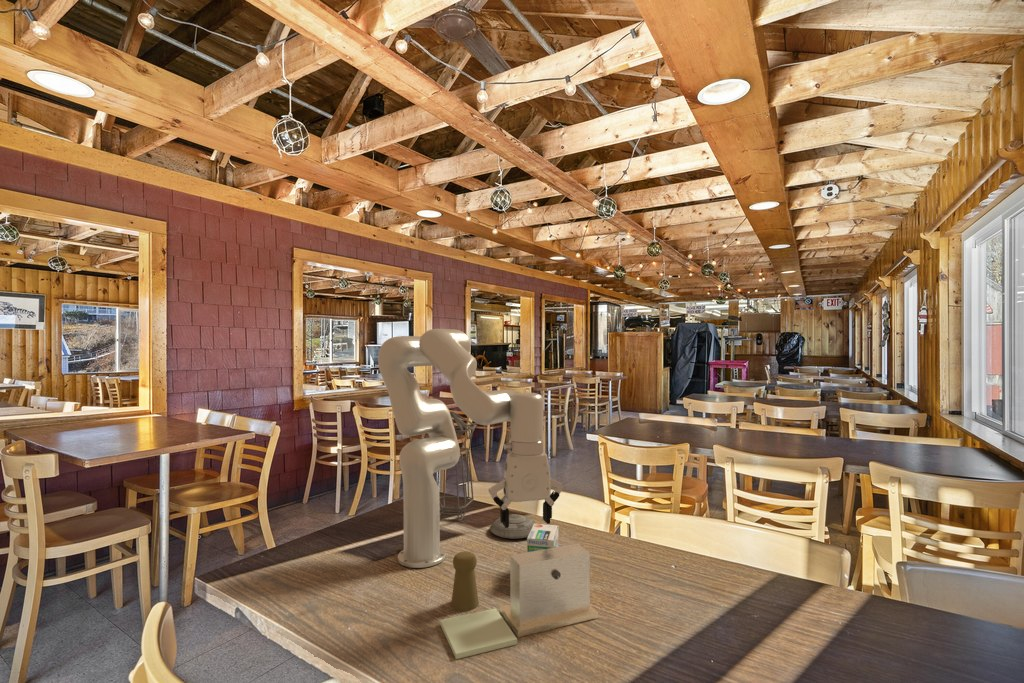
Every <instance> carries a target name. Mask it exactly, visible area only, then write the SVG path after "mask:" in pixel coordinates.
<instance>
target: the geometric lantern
mask: <svg viewBox="0 0 1024 683" xmlns="http://www.w3.org/2000/svg"><path fill="white" fill-rule="evenodd" d="M449 412H450V415H451V418H452V422H453V425H454V429H455V432H456V436H458V437H459V438H460V441H461V442H462V445H461V447H459V448H460V461H461V463H460V464H461V474H462V476H461V477H462V488H463V489H462V490H463V496H459V468H458V467H459V466H458V463H459V461H458V462H457V464H456V465H455V471H456V472H455V473H456V474H455V475H456V495H454V496H452V495H451V496H450V495H446V494H445V493H446V489H445V488H446V470H443V479H442V480H443V486H442V488H443V489H442V490H443V491H442V492H443V493H442V496H440V499H442V500H443V504H442V503H441V502H440V516H441V515H457V518H456V519H453V518H451V519H450V518H448V519H447V518H440V521H454V522H455V521H456V522H460V521H462V520H463V519H464V517H465V514H466V508H467V507H468V506H469V505H470V504H471V503H473V501H474V489H473V488H474V487H473V477H472V475H473V474H472V465H471V453H470V451H471V445H472V438H473V434H474V432H475V429H476V427H478V424H476V423H475V422H474V423H473V421H470V420H468V419H467V418H465V417H463V416H461V415H460V414H458V413H456V412H454V411H453V410H452V411H450V410H449ZM464 421H465V422H464ZM466 422H467V423H469V424H467V423H466ZM455 423H456V425H457V426H456V425H455ZM464 433H465V439H464V440H463V438H462V437H461V436H463V435H464ZM425 435H427V436H428V437H429V434H428V433H426V434H425ZM467 440H469V445H468V447H467V446H466V445H465V444H466V441H467ZM462 450H466V451H464V452H463V453H462ZM464 454H466V479H467V481H466V483H465V470H464V458H463V457H464V456H463V455H464ZM469 479H470V480H469ZM436 483H437V485H438V487H439V486H440V485H439V484H440V471H439V472H437V481H436ZM466 484H467V496H466V486H465V485H466ZM470 490H471V491H470ZM470 492H471V496H470ZM445 499H456V500H457V501H456V505H446V503H445ZM460 499H463V502H464V503H463V505H460ZM468 500H469V501H468Z"/></svg>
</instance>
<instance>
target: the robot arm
mask: <svg viewBox="0 0 1024 683" xmlns="http://www.w3.org/2000/svg"><path fill="white" fill-rule="evenodd" d="M471 346H472V345H471V341H470V338H469V336H468V335H467V334H466V333H465V332H464V331H462V330H459V329H456V328H452V329H451V328H432V329H429V330H426V331H425V332H424V333H423V334H422V335H421V336H419V335H417V336H416V335H415V336H414V335H398V336H393V337H390V338H388V339H386V340H385V341H383V343H382V344H381V346H380V348H379V352H378V355H377V356H378V357H377V359H378V360H377V363H378V364H377V365H378V370H379V373H380V375H381V377H382V380H383V382H384V384H385V388H386V389H387V393H388V396H389V401H390V406H391V408H392V412H393V413H392V414H393V417H394V421H395V424H396V428H397V430H398V432H399V433H400V434H401V435H403V436H405V437H413V436H415V437H416V436H420V435H427V434H426V433H428V434H429V436H428V437H425V438H421V439H415V440H412V441H410V442H408V443H407V444H405V445H404V446H403V447H402V449H401V450H400V452H399V455H398V456H399V468H400V472H401V476H402V491H403V497H402V500H403V549H402V550H400V551H399V553H398V555H397V562H398V563H399V564H400V565H402V566H403V567H407V568H413V569H423V568H429V567H433V566H436V565H438V564H440V563H441V562H443V561H444V560H445V558H446V556H447V554H446V550H445V549H444V548H443V547H441V543H440V542H441V540H440V539H441V538H440V537H441V533H440V532H441V531H440V530H441V529H440V526H441V520H440V519H441V515H440V512H441V509H440V507H441V505H440V503H441V501H440V499H441V498H440V497H441V496H440V488H439V487H438V485H437V481H436V479H435V477H434V474H436V473H438V472H439V473H440V472H441V471H444V470H445V471H446V470H449V469H451V468H453V467H456V464H457V462H458V463H459V460H460V458H461V455H460V450H461V449H460V448H461V447H460V445H459V440H458V437H457V436H458V435H456V433H457V432H455V431H456V429H454V426H455V424H454V425H453V422H454V421H453V422H452V418H453V417H452V418H451V415H450V412H449V411H450V409H449V408H448V406H447V405H446V403H444V402H443V401H442V400H440V399H438V398H426V399H425V398H424V397H423V395H422V393H421V388H420V384H419V382H418V381H417V379H416V378H415V376H414V375H413V374H412V373H411V371H409V369H408V368H409V367H411V368H412V367H413V368H414V367H431V366H434V367H435V368H436V369H437V370H438V371H439V372H440V373H441V374H442V375H443V377H445V378H446V379H447V380H448V381H449V389H450V392H451V394H450V395H451V398H452V400H453V402H454V403H455V405H456V406H457V408H458V409H460V410H461V412H462V413H463V414H465V416H466V417H467V418H469V419H470V420H471V422H474V424H476V425H480V426H490V425H495V424H500V423H506V422H509V425H510V426H509V441H508V443H504V444H503V449H504V450H505V451H509V452H508V453H507V455H506V457H505V464H504V472H503V480H501V481H499V482H497V483H496V484H493V485H492V486H491V487H490V488H488V493H489V495H490V497H491V498H492V500H493V502H494V504H496V505H497V506H498V507H499V510H500V513H499V514H500V517H499V518H500V521H501V523H503V525H504V526H505V528H508V527H509V515H510V510H509V508H508V507H509V506H510V504H511V503H512V502H513V503H522V502H532V501H543V503H542V520H543V521H544V522H545V523H546V525H551V519H552V517H553V506H554V505H555V502H556V501H557V499H559V498H560V494H561V493H562V490H563V489H564V485H563V483H561V482H559V481H557V480H555V479H553V478H551V473H550V464H549V456H548V454H547V453H546V452H545V451H544V398H543V396H542V395H541V394H539V393H536V392H520V391H517V390H514V389H499V390H498V389H496V390H489V391H484V390H482V388H480V386H478V385H477V384H476V383H475V382H474V381H473V380H472V378H473V376H474V375H475V373H476V371H477V368H478V367H477V366H478V362H477V359H476V358H475V357H474V356H473V355H472V354H471V353H470V352H471ZM551 487H554V489H553V491H551V490H552V488H551ZM501 490H503V494H504V495H503V496H502V498H500V497H499V495H498V492H500V491H501Z"/></svg>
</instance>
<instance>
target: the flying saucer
mask: <svg viewBox="0 0 1024 683" xmlns="http://www.w3.org/2000/svg"><path fill="white" fill-rule="evenodd" d="M534 524H537V522H536V521H535V520H533V518H530V517H529V516H526V515H522V514H519V513H517V514H516V513H513V514H509V527H508V528H505V526H504V525H503V523H501V521H500V517H498V518H497V519H495V520H494V521H493V522H492V524H491V525H490V527H489V530H490V532H491V533H492V534H494V536H497V537H500V538H504V539H511V540H513V539H524V538H528V535H529V533H530V531H531V529H532V527H533V525H534Z"/></svg>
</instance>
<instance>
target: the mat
mask: <svg viewBox="0 0 1024 683" xmlns="http://www.w3.org/2000/svg"><path fill="white" fill-rule="evenodd" d="M504 619H505V618H504V617H503V615H502V614H501V613H500V611H499V610H498V609H497V608H496V607H494V608H491V609H490V608H489V609H486V610H485V609H484V610H481V611H476V612H471V613H466V614H463V615H457V616H453V617H448V618H444V619H440V621H439V625H440V627H441V629H442V632H443V634H444V636H445V638H446V641H447V643H448V645H449V648H451V649H450V650H451V651H452V654H453V656H454V658H455V660H459V659H463V658H466V657H471V656H475V655H479V654H484V653H487V652H491V651H497V650H500V649H504V648H508V647H511V646H512V647H513V646H517V645H518V637H517V635H516V634H515V633H514V631H512V628H511V627H510V625H509V624H508V623H507V621H506V620H504Z"/></svg>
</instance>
